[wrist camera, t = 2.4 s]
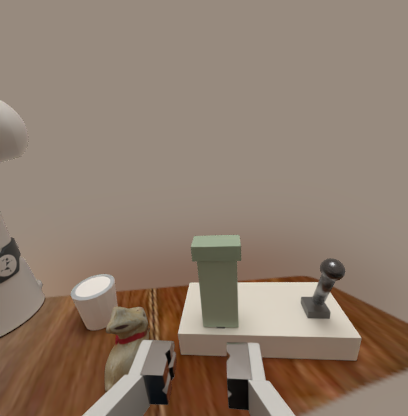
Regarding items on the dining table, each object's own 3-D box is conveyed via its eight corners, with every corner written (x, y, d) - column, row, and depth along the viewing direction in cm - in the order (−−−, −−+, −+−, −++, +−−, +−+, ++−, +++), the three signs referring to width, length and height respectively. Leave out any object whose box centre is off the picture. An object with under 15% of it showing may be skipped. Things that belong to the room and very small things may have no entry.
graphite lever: (310, 311, 30) (328, 272, 24) (304, 294, 32) (319, 254, 26) (330, 311, 29) (352, 272, 24) (323, 294, 31) (341, 253, 26)
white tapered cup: (97, 302, 42) (89, 272, 40) (128, 304, 41) (121, 274, 39) (71, 331, 36) (60, 298, 34) (107, 335, 35) (98, 301, 33)
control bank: (180, 354, 31) (176, 327, 29) (191, 299, 41) (189, 277, 40) (356, 360, 28) (362, 330, 27) (320, 300, 39) (323, 276, 37)
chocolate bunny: (164, 357, 31) (154, 301, 28) (110, 402, 26) (90, 341, 23) (146, 334, 35) (135, 283, 31) (95, 369, 30) (77, 313, 27)
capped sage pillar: (199, 329, 30) (190, 247, 26) (201, 312, 32) (194, 236, 28) (242, 330, 29) (240, 246, 25) (240, 313, 32) (239, 234, 28)
